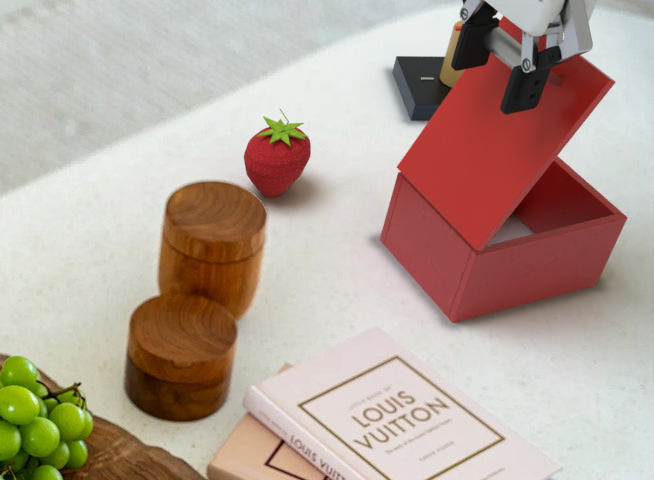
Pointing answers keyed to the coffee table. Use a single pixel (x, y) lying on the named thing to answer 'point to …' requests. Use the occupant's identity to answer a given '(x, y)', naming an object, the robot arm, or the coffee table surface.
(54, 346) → the coffee table surface
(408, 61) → the panel
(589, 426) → the coffee table surface
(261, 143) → the strawberry
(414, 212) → the red open box
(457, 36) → the tan rotary knob
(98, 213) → the coffee table surface
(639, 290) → the coffee table surface
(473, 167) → the hatch
